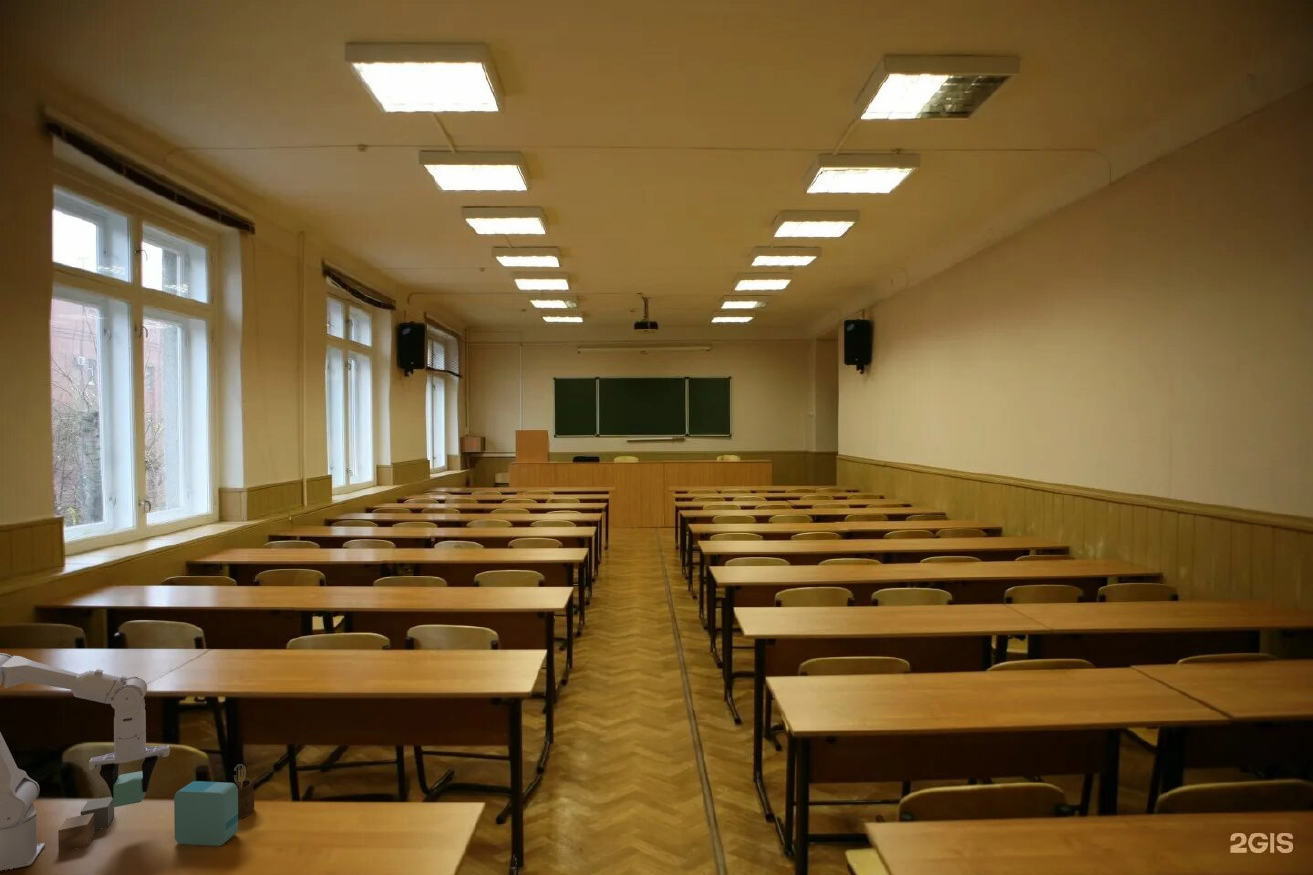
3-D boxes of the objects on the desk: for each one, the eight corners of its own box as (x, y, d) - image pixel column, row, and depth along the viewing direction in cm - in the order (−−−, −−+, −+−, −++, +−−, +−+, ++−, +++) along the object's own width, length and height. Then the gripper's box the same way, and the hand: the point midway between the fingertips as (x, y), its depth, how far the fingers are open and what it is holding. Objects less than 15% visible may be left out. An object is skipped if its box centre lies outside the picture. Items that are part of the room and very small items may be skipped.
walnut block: (58, 852, 148) (58, 830, 148) (66, 840, 152) (66, 818, 152) (87, 846, 150) (87, 824, 150) (94, 834, 155) (94, 812, 155)
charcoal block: (80, 833, 155) (80, 811, 155) (87, 821, 160) (87, 800, 160) (108, 827, 157) (107, 806, 157) (114, 816, 162) (114, 795, 162)
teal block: (113, 807, 151) (113, 784, 151) (120, 796, 156) (119, 774, 156) (141, 801, 153) (141, 779, 153) (146, 791, 158) (146, 770, 158)
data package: (238, 834, 154) (238, 782, 154) (224, 846, 150) (224, 793, 150) (189, 832, 155) (189, 780, 155) (174, 844, 151) (173, 790, 151)
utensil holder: (251, 803, 167) (251, 755, 167) (256, 814, 162) (256, 765, 162) (223, 812, 163) (223, 763, 163) (228, 824, 159) (227, 773, 158)
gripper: (172, 720, 161) (172, 777, 161) (95, 732, 155) (96, 791, 155) (165, 732, 155) (166, 791, 155) (85, 745, 149) (86, 807, 149)
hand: (130, 792), depth 155 cm, fingers closed on teal block, 5 cm apart
